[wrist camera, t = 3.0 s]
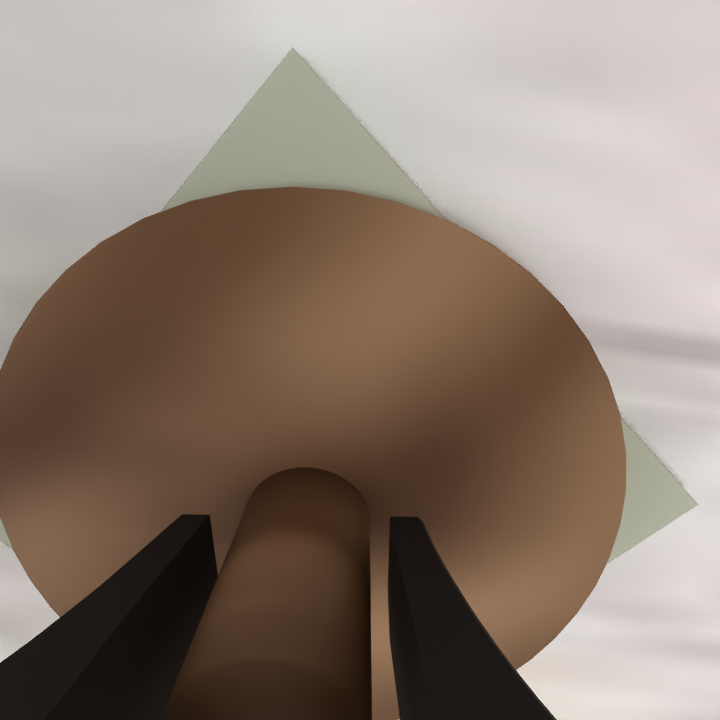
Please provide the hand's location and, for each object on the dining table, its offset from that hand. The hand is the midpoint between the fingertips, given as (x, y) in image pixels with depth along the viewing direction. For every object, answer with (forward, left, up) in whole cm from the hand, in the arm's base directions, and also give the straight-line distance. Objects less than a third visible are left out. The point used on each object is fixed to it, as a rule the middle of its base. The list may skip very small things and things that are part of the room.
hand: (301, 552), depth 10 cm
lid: (0, 0, -2) cm, 2 cm away
